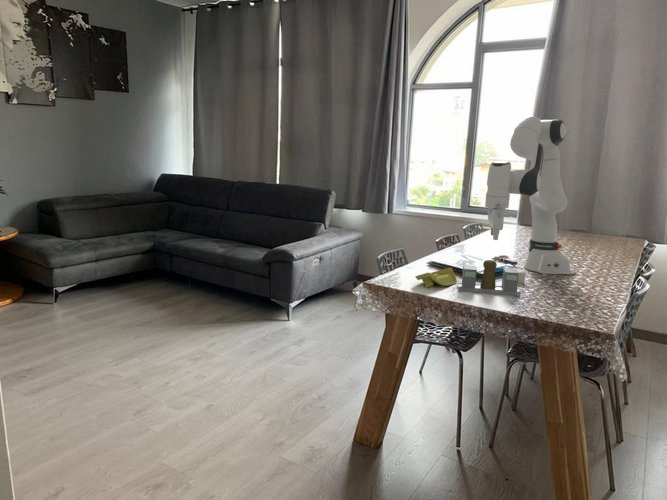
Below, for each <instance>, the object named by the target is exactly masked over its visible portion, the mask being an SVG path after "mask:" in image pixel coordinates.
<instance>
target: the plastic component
mask: <svg viewBox="0 0 667 500" xmlns="http://www.w3.org/2000/svg"><path fill="white" fill-rule="evenodd" d="M415 278H416V280H418V281H420V280H421V281H422V282H423V283H424V286H425V288H428V287H431V286H434V282H435V283H437V284H438V285H440V286H443V287H448V286H452V285H455V284H458V279H457V277H456V274H455V273H454V270H453V268H452V267H447V268H443V269H441V270H437V271H436V270H435V271H433V272H424V273H422V274H418V275H416V276H415Z"/></svg>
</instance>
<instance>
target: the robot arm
mask: <svg viewBox="0 0 667 500" xmlns="http://www.w3.org/2000/svg"><path fill="white" fill-rule="evenodd" d="M566 132H567V127H566V124H565V121H564V120H562V119H556V118H553V119H540V117H537V116H534V115H528V116H526V117H524V118H522V120H521V121H520V122H519V123H518V125H517V126H516V127H515V128H514V130H513V133H512V136H511V138H510V142H509V143H510V144H509V145H510V149H511V151H512V152H513V153H514V155H516V156H518V157H519V158H523V159H526V160H529V161H530V165H529V168H528V169H512V163H511V162H510V161H508V160H496V161H495V160H494V161H493V162H491V163H490V165H489V167H488V168H489V169H488V174H487V180H486V186H487V191H486V192H485V193H486V194H485V201H484V202H485V203H484V207H485V208H487V220H488V221H487V222H488V223H489V225H490V236H492V240H493V241H498V240H499V234H500V231H503V229H504V217H505V212H506V209H509V205H510V194H513V195H522V196H528V197H529V202H530V208H531V219H532V221H531V223H532V224H531V233H530V234H531V235H530V239H529V242H528V249H527V250H528V253H527V258H526V261H525V263H524V266H523V268H524V269H525V270H528V271H531V272H535V273H539V274H545V275H546V274H547V275H575V273H576V271H575V269H574V268H573V267H571V262H570V258H569V257H568V256H567V255H565V254H564V253H563V252H562V251H561V250H560V249H562V248H563V245H562V244H561V243H559V242H557V241H556V240H557V231H558V223H557V219H556V214H557V215H558V214H560V213H562V212H564V211H565V210H566V208H567V206H568V198H567V196H566V194H565V191H564V187H563V183H562V182H563V181H562V177H561V155H560V153H561V152H560V148H559V147H560V146H559V145H560V144H561V143H562V142H563V141H564V139H565V138H566V134H567V133H566Z"/></svg>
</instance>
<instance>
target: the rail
mask: <svg viewBox="0 0 667 500" xmlns="http://www.w3.org/2000/svg"><path fill="white" fill-rule="evenodd" d="M480 285H481V283H476V285H475V289H468V288H462V281H460V282H459V281H457V290H458V291H457V292H461V293H462V292H465V293H475V294H476V293H477V294H488V295H498V296H500V295H501V296H509V297H511V296H512V297H521V291H520V289H519V286H517V293H516V292H504V290H503V289H502V285H497V284H495V286H496V288H494V289H486V288H482V287H480Z"/></svg>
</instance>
